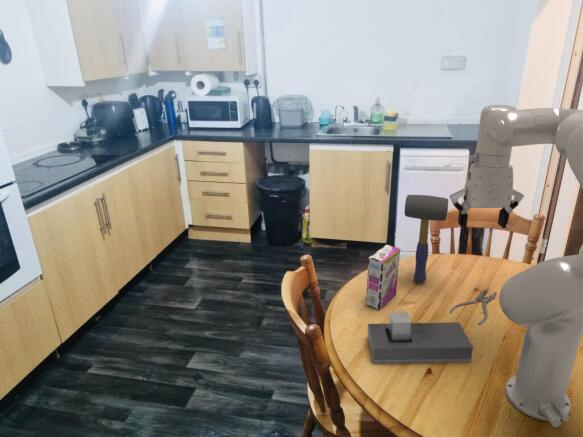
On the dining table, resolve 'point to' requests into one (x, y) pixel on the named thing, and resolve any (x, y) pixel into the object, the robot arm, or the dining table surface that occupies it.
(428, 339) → the rectangular block
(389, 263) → the candy bar box
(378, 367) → the dining table surface
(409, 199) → the rubber mallet
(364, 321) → the dining table surface
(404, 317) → the steel peg
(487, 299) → the pliers
